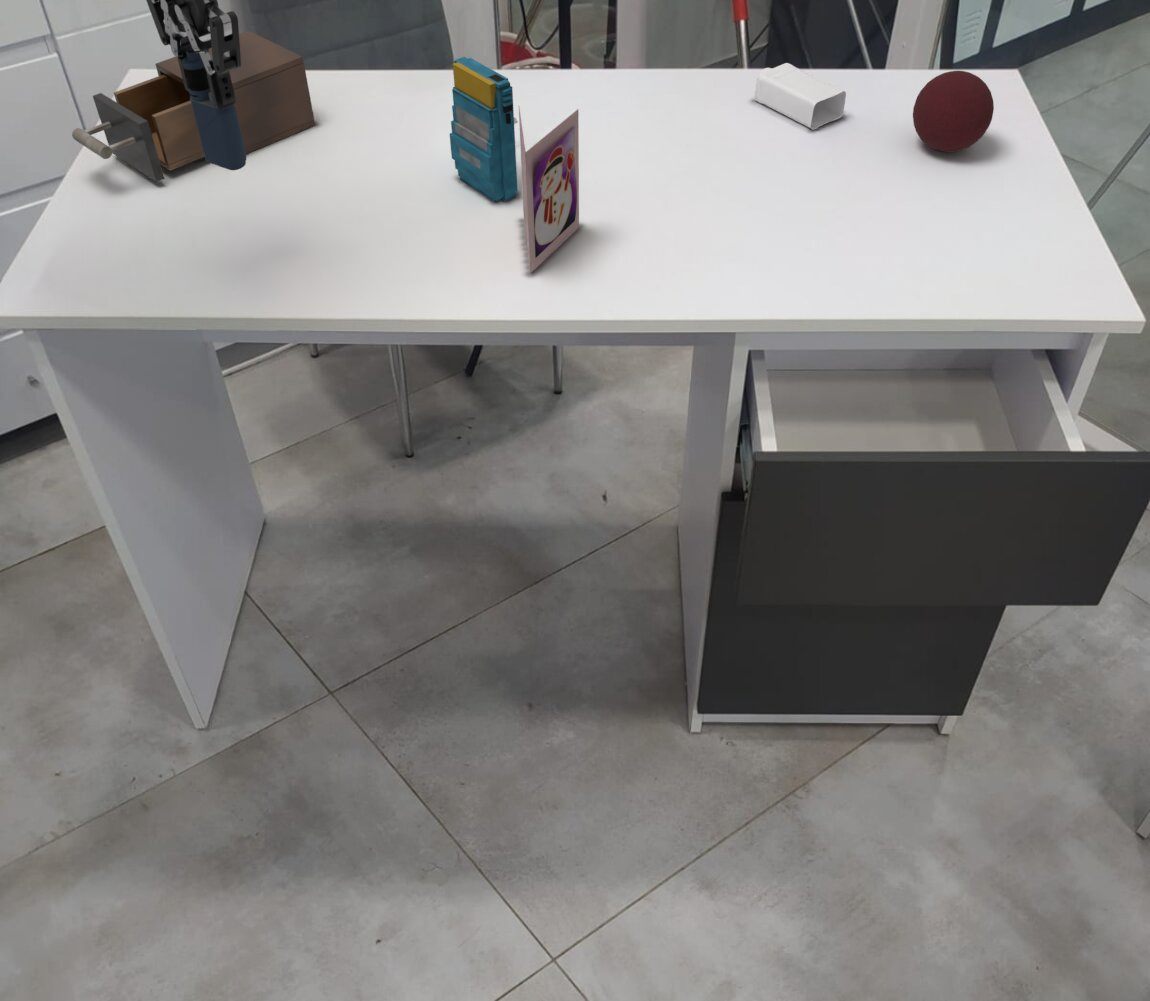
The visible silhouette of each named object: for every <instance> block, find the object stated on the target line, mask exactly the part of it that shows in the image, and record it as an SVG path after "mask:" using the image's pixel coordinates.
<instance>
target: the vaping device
mask: <svg viewBox="0 0 1150 1001" xmlns="http://www.w3.org/2000/svg"><path fill="white" fill-rule="evenodd" d="M186 53H187V57H185V58H184V59H183V60H182V64H183V68H184V69H185V71H184V72H186V73H185V76H186V80H187V84H188V88H189V92H190V100H191V103H192V107H193V111H194V115H195V119H196V124H197V128H198V132H199V136H200V140H201V144H202V148H203V152H204V156H205V157H204V159H205V162H206V163H209V164H212V165H214V166H217V167H220V168H223V169H226V170H229V171H237V170H241V169H242V168H244V167H245V166H246V163H247V162H246V161H247V154H246V152H245V147H244V143H243V138H242V134H241V129H240V125H239V120H238V115H237V111H236V107H235V106H233V105H232V106H229V107H226V108H224V109H219V108H217V107H215V106H214V103H213V99H212V95H211V91H210V87H209V82H208V78H207V74H206V73H207V71H206V69H205V66H204V64H203V61H202V58H201V56H200V55H198V54H197V52H196V51H194V50H193V49H188V50H187V51H186Z"/></svg>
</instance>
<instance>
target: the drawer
mask: <svg viewBox="0 0 1150 1001" xmlns="http://www.w3.org/2000/svg"><path fill="white" fill-rule="evenodd" d="M113 96H114V99H115V100H113V99H112V98H110V97H109V96H107V95H105V94H104V93H102V92H99V93H97V94H94V95H92V98H93V102H94V104H95V107H96V111H97V114H98V117H99V120H100V124H98V125H95V126H92V127H89V128H87V129H82V128H79V127H77V128H74V129H73V130H72V132H71V136H72V139H73V140H74V141H76V142H77V143H78V144H80V145H82V146H83V147H85V148H86V149H88V150H89V151H90V152H93V153H94V154H95V155H97V156H98V157H100V158H101V159H104V160H108V159H110V158H111V157H112V155H114V156H115V157H117V158H119V159H120V160H122V161H123V162H125V163H127V164H128V165H130V166H131V167H133V168H134V169H136V170H138V171H139V172H141V173H142V174H144V175H145V176H147V177H148V178H150V179H151V180H153V181H154V182H156V183H157V182H160V181H162V180H164V179H165V175H164V172H163V169H162V167H164V168H165V169H167V170H169V171H174V170H176V169H178V168H180V167H183V166H185V165H188V164H190V163H192V162H195V161H197V160H200V159H202V158H205V156H204V152H203V148H202V144H201V140H200V136H199V132H198V128H197V124H196V119H195V115H194V111H193V107H192V103H191V100H190V92H189V91H187V90H186V89H185V86H184V84H182V83H181V82H179V81H177V80H175V79H173V78H172V77H170V76H168V75H166V74H164V75H161V76H155V77H152V78H150V79H147V80H145V81H142V82H139V83H136V84H133V85H130V86H128V87H125V88H122V89H119V90H117V91H114V92H113ZM102 131H103V132H104V135H105V139H106V142H107V144H108V145H107V144H106V143H104V142H102V141H100V139H98V138H97V137H95V136H93V135H95V134H97V133H100V132H102Z"/></svg>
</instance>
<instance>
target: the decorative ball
mask: <svg viewBox="0 0 1150 1001" xmlns="http://www.w3.org/2000/svg"><path fill="white" fill-rule="evenodd" d="M912 108H913V110H912V120H913V126H914V129H915V132H916V134H917V136H918V137H919V139H920V140H921V141H922V142H923V143H924V144H925V145H927V146H928V147H929V148H931V149H933V150H936V151H939V152H944V153H954V152H960V151H963V150H965V149H967V148H970V147H971V146H973V145H974V144H976V143H977V142H979V141H980V139H982V137H984V135H985V134H986V132H987V131H988V129H989V127H990V126H991V123H992V120H993V116H994V109H995V106H994V98H993V95H992V91H991V90H990V88H989V86H988V84H986V82H985V81H984V80H983V79H981V78H980V76H978V75H976V74H974V73H972V72H968V71H965V70H952V71H946V72H943V73H940V74H939V75H936V76H935V77H933V78H931V80H929V81H928V82H927V83H925V85H924V86H923V88H922V89H920V91H919V93H918V94H917V96H916V99H915V102H914V105H913V107H912Z"/></svg>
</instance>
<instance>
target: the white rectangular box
mask: <svg viewBox="0 0 1150 1001" xmlns="http://www.w3.org/2000/svg"><path fill="white" fill-rule="evenodd" d="M846 98H847V92H846V91H845V90H843V89H840V88H838V87H837V86H834V85H832V84H830V83H829V82H826V81H824V80H822V79H820V78H818V77H816V76H814V75H813V74H810V73H809V72H806V71H804V70H802V69H800V68H798V67H796V66H795V65H793V64H791V63H789V62H785V63H782V64H780V65H777V66H775V67H773V68H771V67H765V68H763V69H762V70H761V71H760V72H759V73H758V74H757V76H756V81H755V90H754V100H755V101H756V102H757V103H759V104H763V105H764V106H766V107H769V108H770V109H772V110H774V111H777V112H778V113H780V114H782V115H784V116H786V117H788V118H789V119H792V120H793V121H796V122H798V123H799V124H802V125H804V126H805V127H807V128H809V129H811V130H812V131H814V130H817V129H818V128H820V127H822V126H824V125H826V124H829V123H830V122H834V121H836V120H839V119H841V118H842V117H843V115H844V111H845V105H846Z"/></svg>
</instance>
